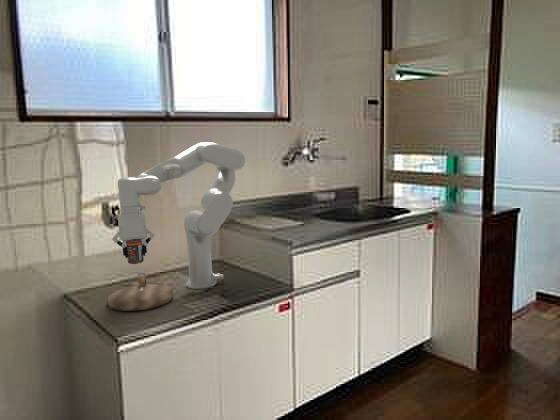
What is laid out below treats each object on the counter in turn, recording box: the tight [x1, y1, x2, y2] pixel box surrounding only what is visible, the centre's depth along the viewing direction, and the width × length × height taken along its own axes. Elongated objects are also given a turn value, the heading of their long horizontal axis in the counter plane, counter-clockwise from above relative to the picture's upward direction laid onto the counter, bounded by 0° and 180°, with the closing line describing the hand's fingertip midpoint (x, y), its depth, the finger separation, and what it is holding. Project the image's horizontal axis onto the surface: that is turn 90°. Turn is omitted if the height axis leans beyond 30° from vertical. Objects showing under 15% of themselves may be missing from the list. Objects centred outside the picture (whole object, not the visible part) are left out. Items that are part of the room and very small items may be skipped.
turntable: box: [107, 274, 174, 312], centre depth 179 cm, size 24×24×6 cm
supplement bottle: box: [126, 239, 144, 265], centre depth 179 cm, size 6×6×11 cm
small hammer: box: [137, 272, 148, 285], centre depth 194 cm, size 3×5×6 cm, turn 14°
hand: (135, 255), depth 180 cm, fingers closed on supplement bottle, 6 cm apart
